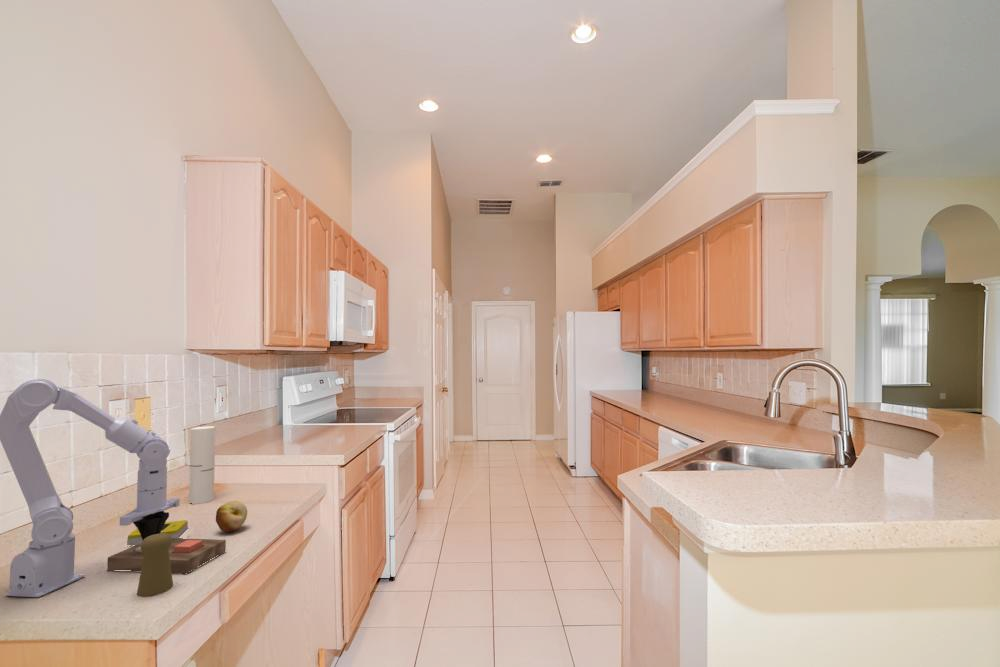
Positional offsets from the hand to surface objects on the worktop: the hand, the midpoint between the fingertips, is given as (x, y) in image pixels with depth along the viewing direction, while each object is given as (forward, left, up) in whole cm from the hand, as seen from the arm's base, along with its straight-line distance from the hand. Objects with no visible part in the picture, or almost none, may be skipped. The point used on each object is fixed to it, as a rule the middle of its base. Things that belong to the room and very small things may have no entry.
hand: (150, 546), depth 111 cm
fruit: (+20, -6, -4) cm, 21 cm away
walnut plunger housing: (0, -5, -3) cm, 6 cm away
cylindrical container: (+46, +25, -3) cm, 52 cm away
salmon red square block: (0, -10, -2) cm, 10 cm away
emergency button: (+14, +11, -4) cm, 18 cm away
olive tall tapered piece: (-13, -14, -4) cm, 19 cm away
